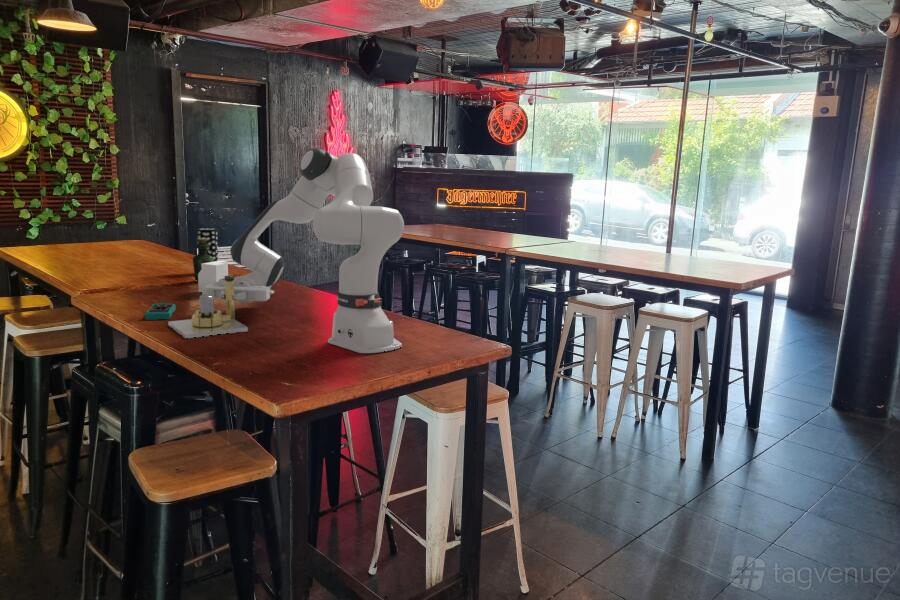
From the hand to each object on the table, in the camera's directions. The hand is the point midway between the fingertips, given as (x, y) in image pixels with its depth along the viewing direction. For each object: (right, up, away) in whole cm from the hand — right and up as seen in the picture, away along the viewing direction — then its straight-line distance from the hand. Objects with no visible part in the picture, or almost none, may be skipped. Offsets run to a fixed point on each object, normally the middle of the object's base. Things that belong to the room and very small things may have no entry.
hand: (228, 297), depth 200 cm
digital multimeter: (-26, -6, +10) cm, 28 cm away
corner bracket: (-22, +2, +48) cm, 53 cm away
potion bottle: (-35, +7, +70) cm, 79 cm away
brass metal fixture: (-3, -8, -3) cm, 9 cm away
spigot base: (-5, -9, -5) cm, 11 cm away
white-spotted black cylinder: (-40, +11, +90) cm, 99 cm away
